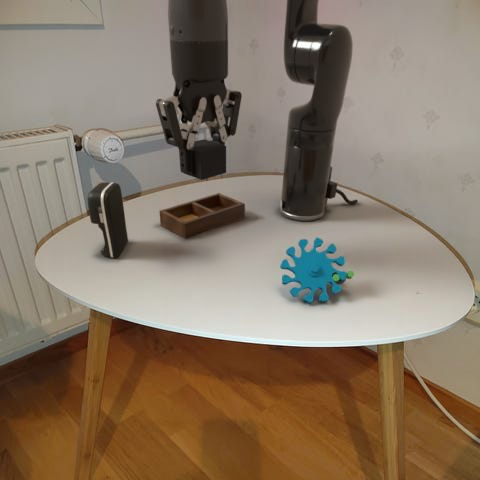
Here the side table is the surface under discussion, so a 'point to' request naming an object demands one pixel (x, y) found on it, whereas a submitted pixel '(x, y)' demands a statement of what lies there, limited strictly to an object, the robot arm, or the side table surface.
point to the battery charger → (109, 216)
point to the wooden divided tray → (202, 215)
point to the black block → (209, 159)
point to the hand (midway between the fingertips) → (203, 169)
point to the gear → (315, 270)
